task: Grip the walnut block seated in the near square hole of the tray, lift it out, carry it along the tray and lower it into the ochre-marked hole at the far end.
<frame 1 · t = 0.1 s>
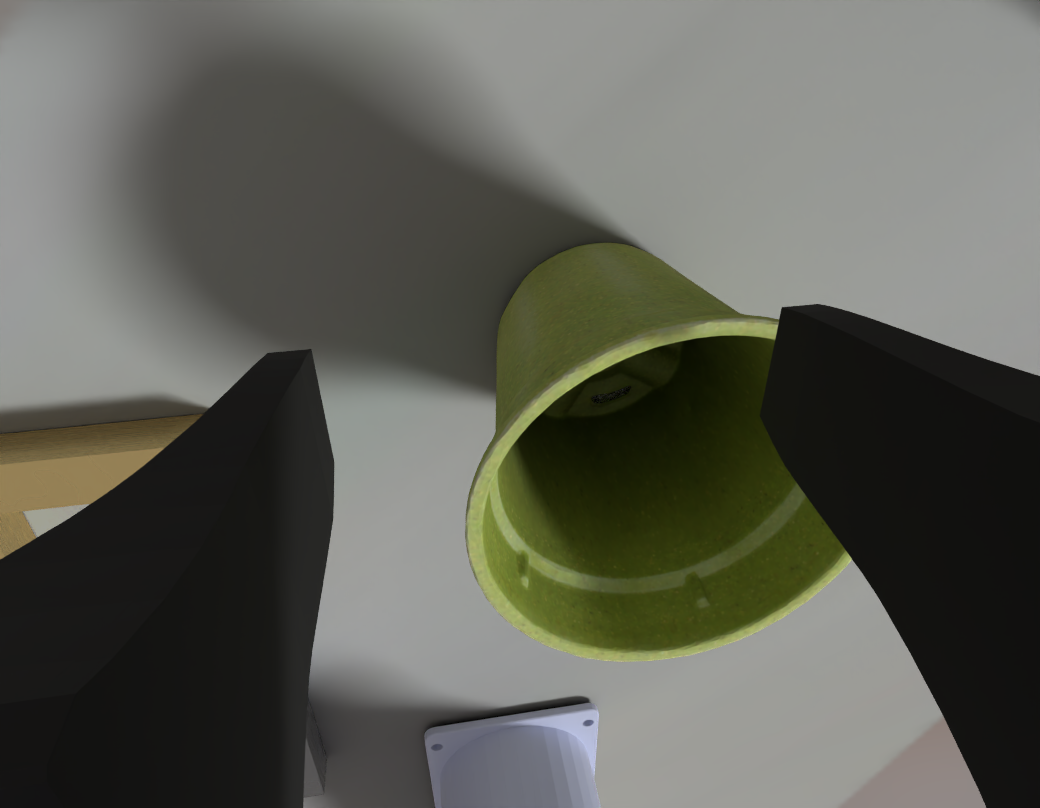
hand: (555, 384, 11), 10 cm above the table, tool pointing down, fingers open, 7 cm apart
tray: (174, 634, 26), on the table
plant pot: (588, 331, 22), on the table
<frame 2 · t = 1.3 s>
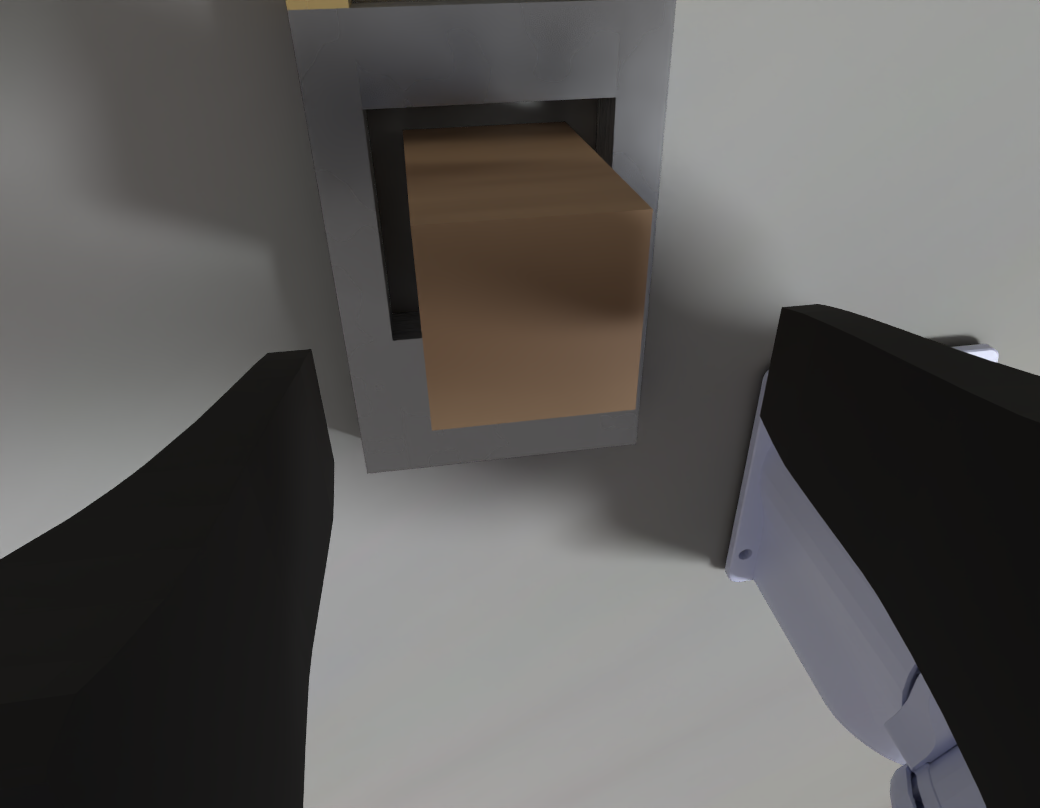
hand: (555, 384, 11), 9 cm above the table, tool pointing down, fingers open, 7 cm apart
tray: (484, 104, 17), on the table
walnut block: (488, 206, 18), resting in tray
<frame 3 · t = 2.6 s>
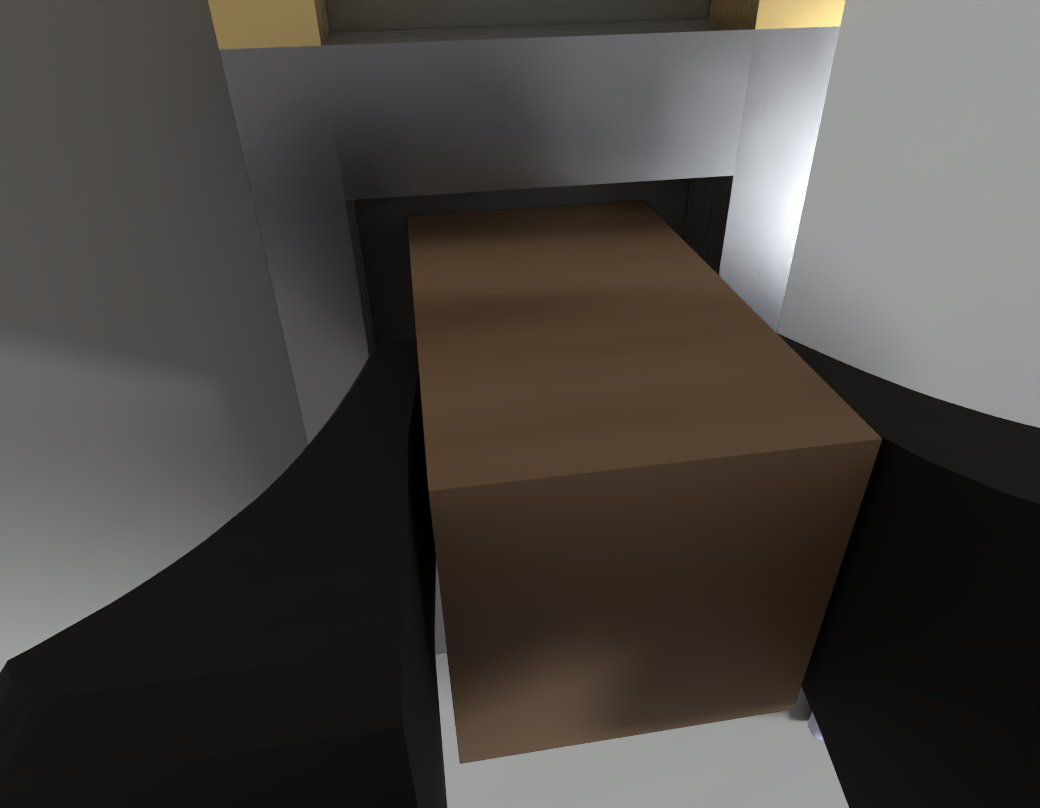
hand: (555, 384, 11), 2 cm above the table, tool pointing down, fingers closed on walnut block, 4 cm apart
tray: (527, 177, 11), on the table
walnut block: (528, 316, 13), resting in tray, touching gripper
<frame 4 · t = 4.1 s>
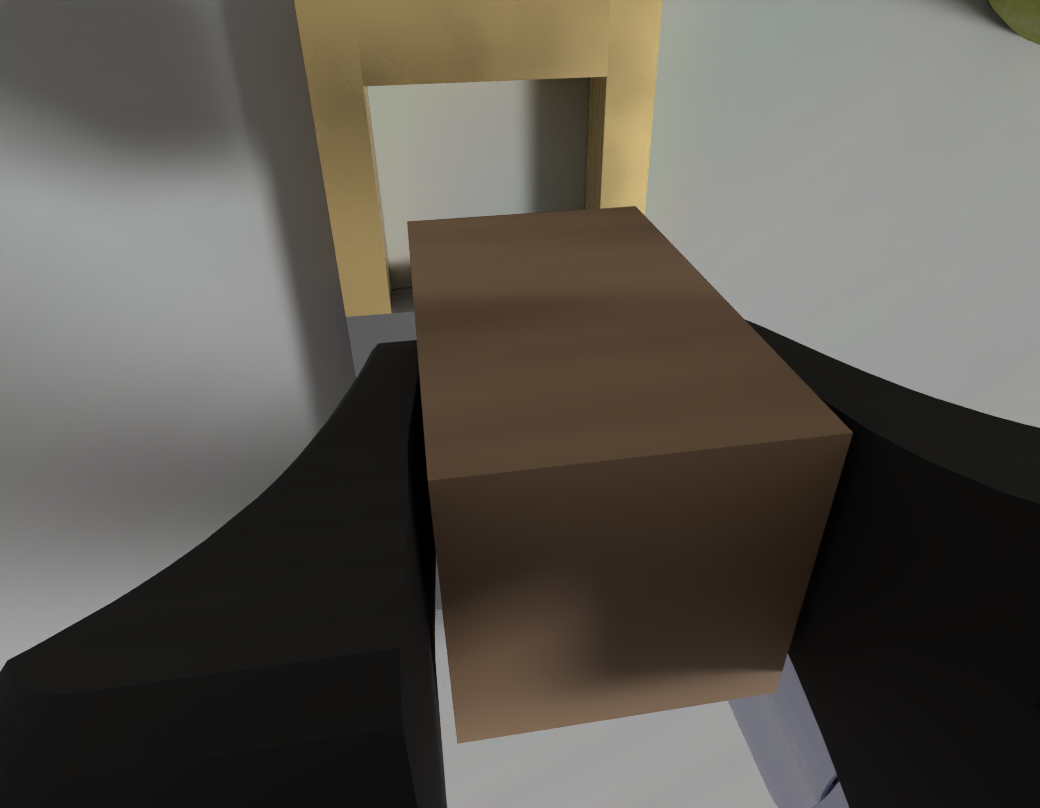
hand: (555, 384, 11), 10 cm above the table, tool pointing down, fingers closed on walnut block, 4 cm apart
tray: (491, 348, 22), on the table
walnut block: (525, 318, 13), point 7 cm above the table, touching gripper
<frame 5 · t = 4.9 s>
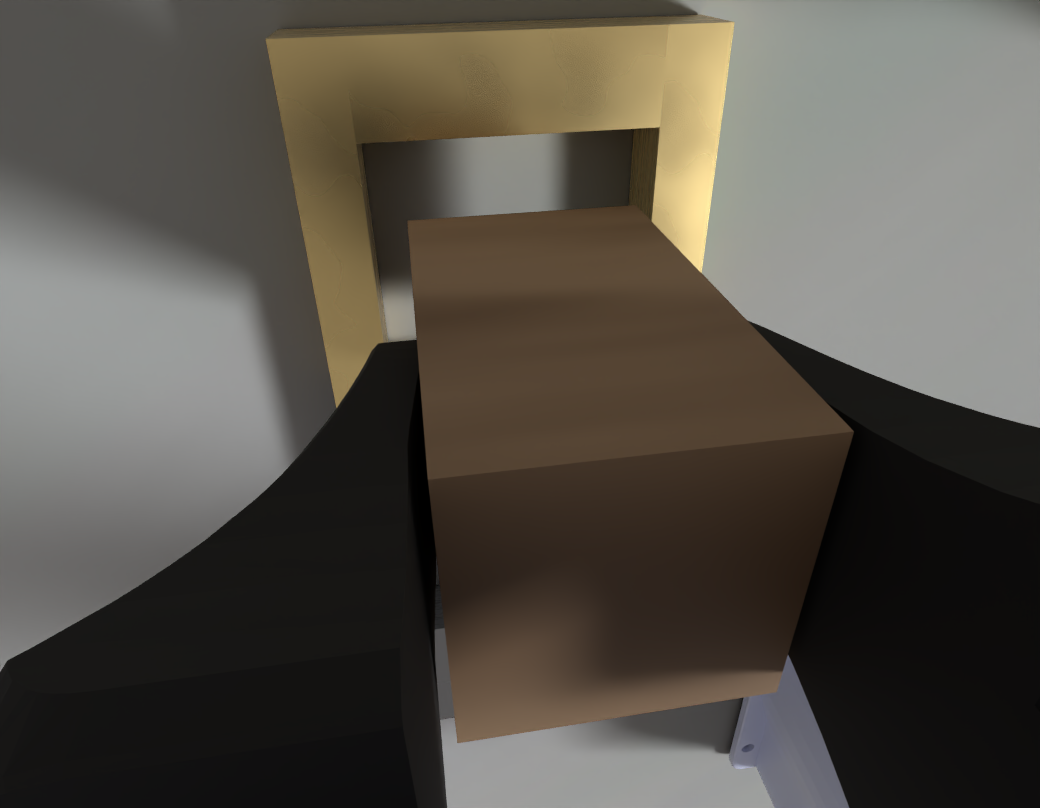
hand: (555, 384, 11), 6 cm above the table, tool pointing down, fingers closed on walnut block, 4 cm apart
tray: (509, 433, 18), on the table
walnut block: (525, 317, 13), point 3 cm above the table, touching gripper
when the fingers open (4 cm above the table, at t = 5.7 s): walnut block drops 1 cm, resting in tray.
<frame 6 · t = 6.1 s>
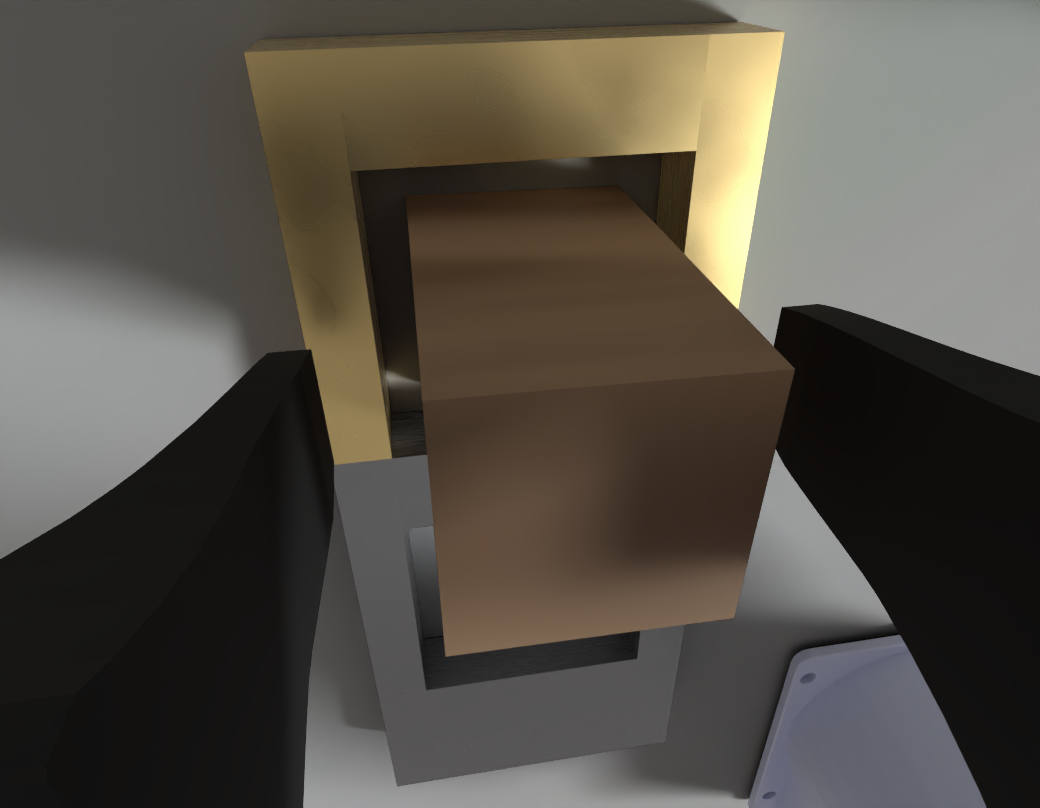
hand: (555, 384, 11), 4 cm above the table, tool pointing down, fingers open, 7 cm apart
tray: (520, 478, 17), on the table
walnut block: (514, 289, 14), resting in tray
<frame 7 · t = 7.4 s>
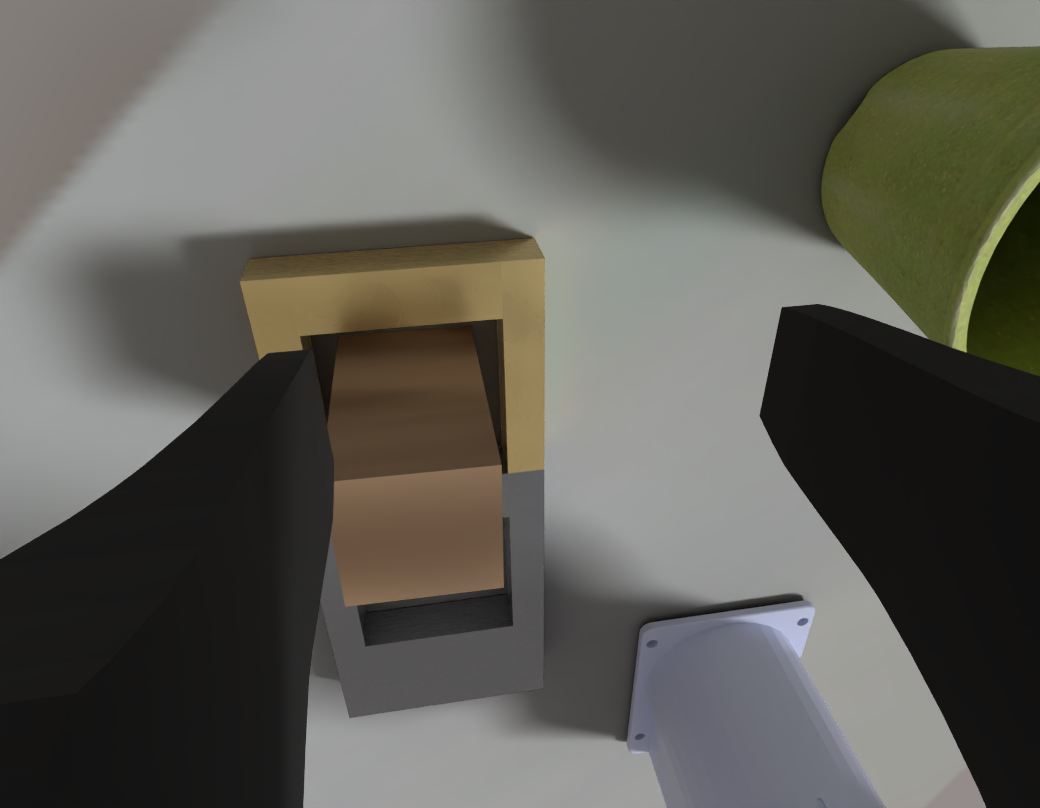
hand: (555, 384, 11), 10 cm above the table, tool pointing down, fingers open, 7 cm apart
tray: (425, 502, 25), on the table
plant pot: (908, 160, 21), on the table
walnut block: (410, 386, 23), resting in tray
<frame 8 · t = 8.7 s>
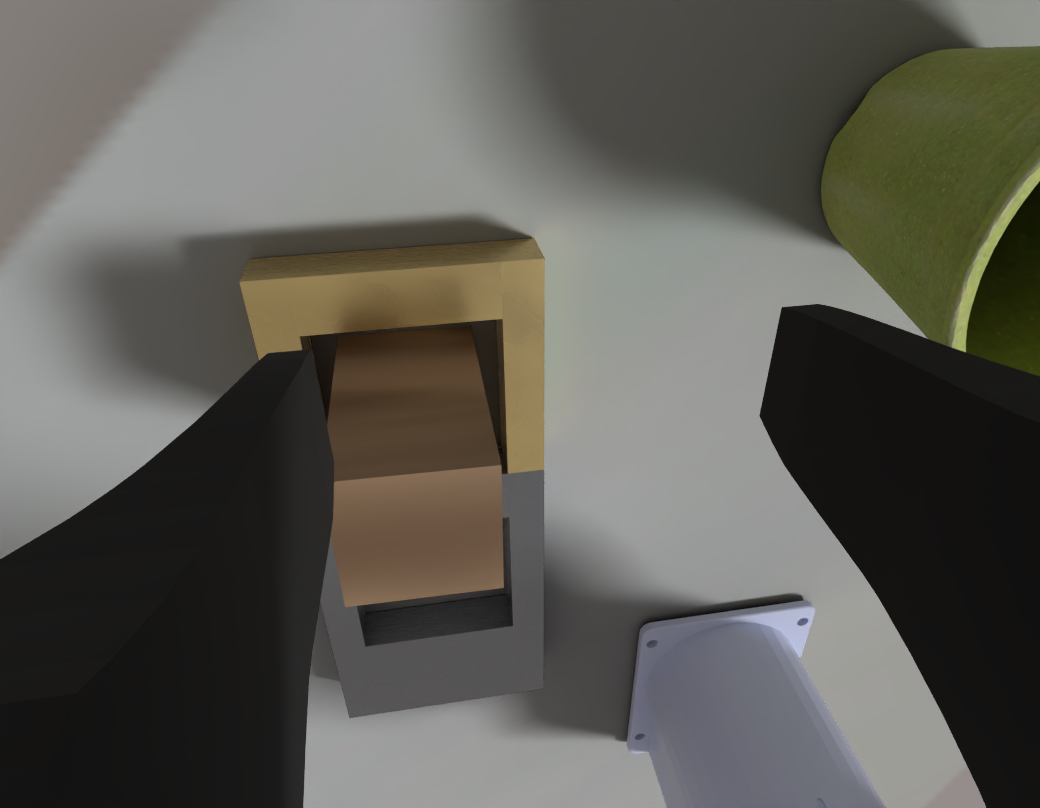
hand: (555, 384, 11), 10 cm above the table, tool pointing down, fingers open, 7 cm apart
tray: (425, 502, 25), on the table
plant pot: (908, 160, 21), on the table
walnut block: (410, 386, 23), resting in tray
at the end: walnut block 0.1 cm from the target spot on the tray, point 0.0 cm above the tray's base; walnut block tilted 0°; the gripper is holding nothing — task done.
